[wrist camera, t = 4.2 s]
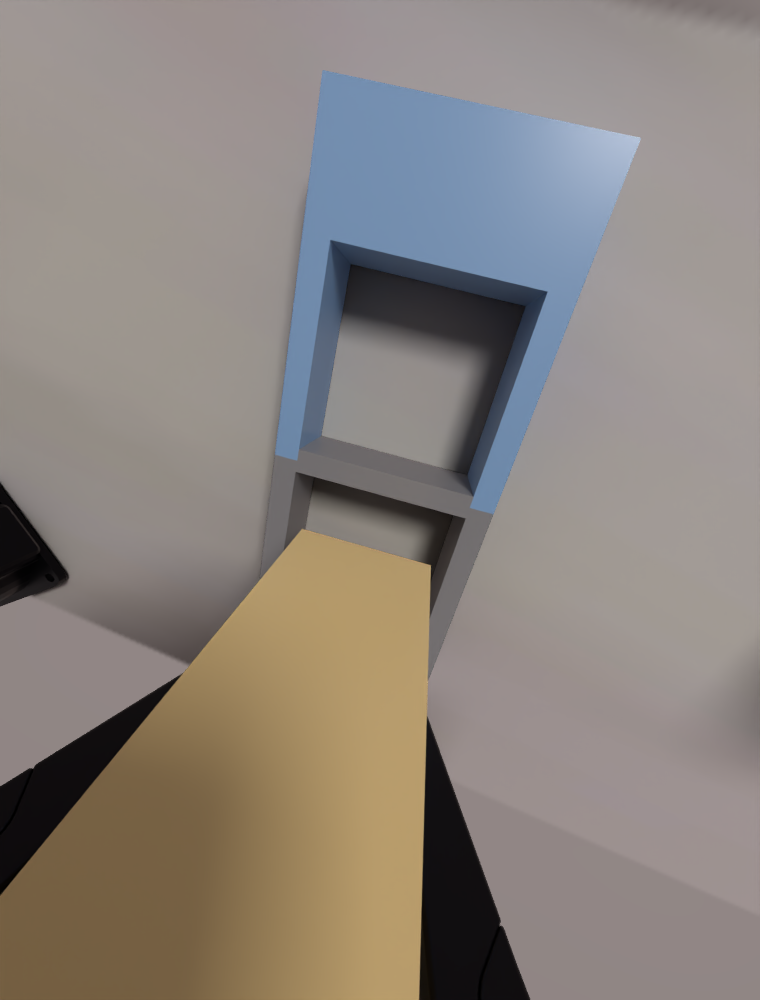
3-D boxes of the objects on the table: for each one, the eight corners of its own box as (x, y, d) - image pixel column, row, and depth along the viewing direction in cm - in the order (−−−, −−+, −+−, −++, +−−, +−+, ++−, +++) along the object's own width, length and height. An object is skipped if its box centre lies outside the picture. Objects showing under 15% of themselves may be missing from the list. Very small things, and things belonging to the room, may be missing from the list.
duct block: (418, 667, 18) (415, 713, 15) (273, 624, 18) (249, 662, 16) (595, 188, 10) (640, 137, 8) (346, 133, 11) (322, 70, 9)
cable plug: (397, 663, 12) (309, 1335, 4) (285, 629, 12) (-38, 1193, 4) (431, 565, 11) (410, 1318, 2) (302, 528, 11) (-162, 1093, 2)
